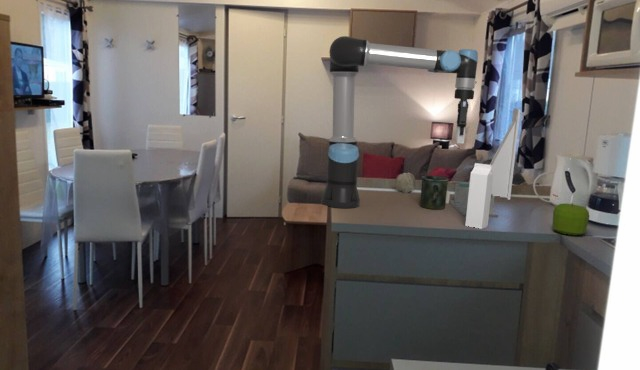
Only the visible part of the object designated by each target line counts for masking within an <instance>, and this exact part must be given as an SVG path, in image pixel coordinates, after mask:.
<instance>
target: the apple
mask: <svg viewBox="0 0 640 370" xmlns="http://www.w3.org/2000/svg"><path fill="white" fill-rule="evenodd" d="M589 219H590V211H589V210H588V209H587V208H586V207H585V206H583V205H577V204H573V203H560V204H557V205H556V206H554V209H553V215H552V225H551V226H552V227H551V228H552V229H554V230H555V231H556V232H558V233H559V234H561V233H562V235H566V234H568V236H579V235H582V234H586V232H587V228H588V223H589Z"/></svg>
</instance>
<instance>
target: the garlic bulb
mask: <svg viewBox="0 0 640 370" xmlns="http://www.w3.org/2000/svg"><path fill="white" fill-rule="evenodd" d="M393 184H394V185H395V189H396V191H398V192H401V193H406V194H407V193H411V192H412V191H413V190H414V189H415V185H416V178H415V176H414V174H412V173H410V172H403V173H399V174H398V175H397V177H396V178H395V180H394V181H393Z"/></svg>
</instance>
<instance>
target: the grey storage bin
mask: <svg viewBox="0 0 640 370" xmlns="http://www.w3.org/2000/svg"><path fill="white" fill-rule="evenodd" d="M454 185H455V186H454V193H453V199H449V203H448V204H449V205H451V206H452V207H453V208H454V209H456V210H457V211H458V212H459V213H461V215H462V216H465V217H466V213H467V204H468V194H469V185H470V182H460V181H459V182H457V183H455V184H454ZM495 198H496V197H495V196H494V195H493V194H491V201H490V210H489V218H498V217H499V214H498V213H496V212H495V211H494V210H495V209H494V208H495Z"/></svg>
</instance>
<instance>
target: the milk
mask: <svg viewBox="0 0 640 370" xmlns="http://www.w3.org/2000/svg"><path fill="white" fill-rule="evenodd" d="M491 167H492V166H491V165H490V164H485V163H478V162H475V163H474V167H473V169H472V170H471V171H470V177H469V183H470V185H469V194H468V204H467V213H466V216H465V227H468V226H469V227H468V228H473V227H475V228H474V229H478V228H479V230H483V229H485V228H487V227H488V226H489V219H490V217H489V210H490V201H491V192H492V183H493V172H492V170H491Z"/></svg>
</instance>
